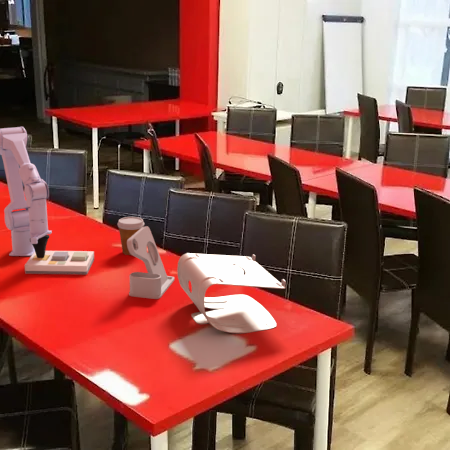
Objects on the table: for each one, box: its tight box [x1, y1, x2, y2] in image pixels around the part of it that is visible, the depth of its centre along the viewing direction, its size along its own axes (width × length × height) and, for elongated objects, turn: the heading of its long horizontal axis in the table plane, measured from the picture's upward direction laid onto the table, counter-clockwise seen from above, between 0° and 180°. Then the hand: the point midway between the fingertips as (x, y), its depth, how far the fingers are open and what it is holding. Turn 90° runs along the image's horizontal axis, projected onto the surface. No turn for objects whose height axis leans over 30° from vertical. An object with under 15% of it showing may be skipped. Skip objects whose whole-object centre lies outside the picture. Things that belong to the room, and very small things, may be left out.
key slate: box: [52, 252, 68, 261], centre depth 216 cm, size 4×4×2 cm
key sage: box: [72, 252, 88, 261], centre depth 217 cm, size 4×4×2 cm
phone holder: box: [127, 225, 175, 300], centre depth 200 cm, size 17×10×18 cm, turn 167°
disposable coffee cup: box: [117, 216, 145, 256], centre depth 231 cm, size 10×10×12 cm
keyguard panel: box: [24, 250, 95, 275], centre depth 217 cm, size 14×20×3 cm
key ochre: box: [32, 255, 49, 261], centre depth 217 cm, size 4×4×2 cm
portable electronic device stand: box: [176, 252, 286, 334], centre depth 182 cm, size 26×24×16 cm
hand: (40, 257), depth 216 cm, fingers closed, pressing on key ochre
